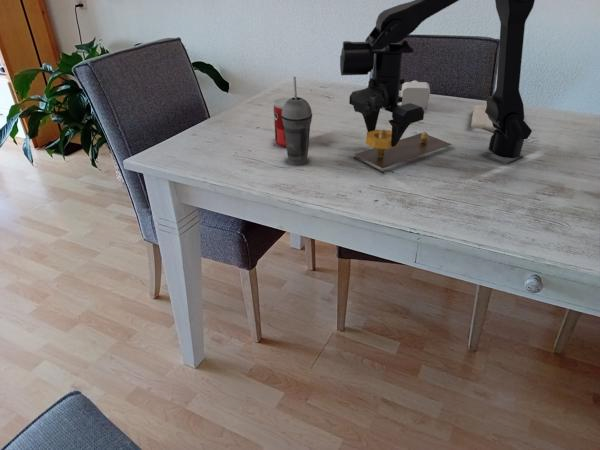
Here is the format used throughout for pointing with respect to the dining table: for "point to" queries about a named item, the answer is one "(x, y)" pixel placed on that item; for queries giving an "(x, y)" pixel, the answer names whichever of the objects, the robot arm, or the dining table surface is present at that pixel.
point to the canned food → (279, 121)
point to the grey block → (415, 93)
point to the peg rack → (401, 150)
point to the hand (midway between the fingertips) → (381, 141)
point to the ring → (379, 139)
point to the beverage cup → (297, 128)
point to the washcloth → (481, 119)
